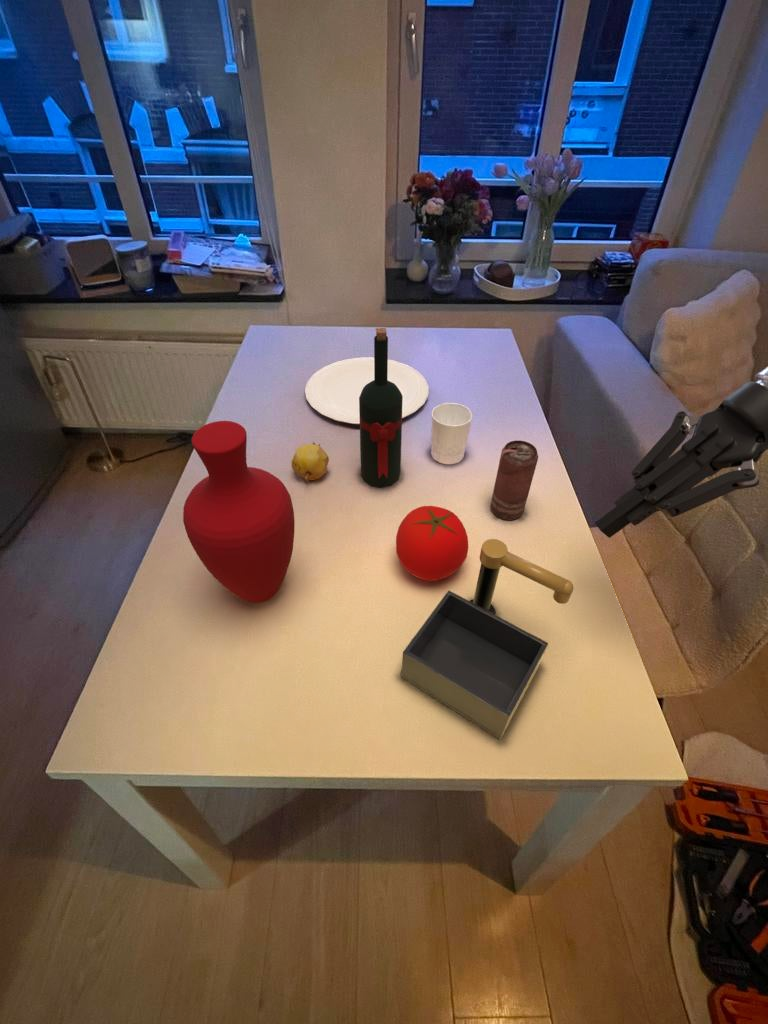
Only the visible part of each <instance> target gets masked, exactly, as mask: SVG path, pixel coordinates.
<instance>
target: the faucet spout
mask: <svg viewBox="0 0 768 1024" xmlns="http://www.w3.org/2000/svg"><path fill="white" fill-rule="evenodd" d="M508 550H509V549H508V546H507V544H505V542H504V541H502V540H500V539H496V538H489V539H486V540H485V541H483V543H482V544H481V549H480V553H479V562H480V564H481V563H482V564H483V565H484V566H485V567H487V568H491V569H497V568H500V569H501V567H504V568H506V569H508V570H510V571H512V572H515V573H516V574H519V575H521V576H522V577H525V578H527V579H529V580H531V581H532V582H535V583H537V584H539V585H541V586H543V587H545V588H548V590H549V589H550V590H552V591H554V592H553V595H552V598H553V600H554V601H556V603H558V604H567V603H568V602H569V600H570V598H571V596H572V594H573V591H574V585H573V583H572V581H571V580H569V579H567V578H565V577H563V576H560V575H559V574H556V573H554V572H552V571H550V570H548V569H546V568H544V567H542V566H539V565H537V564H535V563H533V562H531V561H530V560H529V561H528V560H527V559H525V558H522V557H521V556H518V555H516V554H514V553H511V552H510V551H508Z"/></svg>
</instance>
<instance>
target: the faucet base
mask: <svg viewBox="0 0 768 1024" xmlns="http://www.w3.org/2000/svg"><path fill="white" fill-rule="evenodd" d="M479 567H480V568H479V571H478V577H477V581H476V587H475V590H474V596H473V598H472V599H470V600H469V601H470V602H472V603H474V604H476V605H477V606H479V607H481V608H483V609H485V610H487V611H489V612H491V613H493V614H494V615H496V616H497V613H496V612H497V611H496V609H495V607H494V605H493V604H492V601H493V597H494V593H495V589H496V585H497V582H498V578H499V573H500V570H501V567H500V568H497V569H491V568H487V567H485V566H484V565H483V564H482V563H481V562H480V566H479Z"/></svg>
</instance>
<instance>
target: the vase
mask: <svg viewBox="0 0 768 1024" xmlns="http://www.w3.org/2000/svg"><path fill="white" fill-rule="evenodd" d="M247 441H248V435H247V430H246V428H245V427H244V426H243V425H242V424H240V423H238V422H236V421H231V420H217V421H213V422H209V423H206V424H204V425H202V426H200V427H199V428H198V429H197V430H196V431H195V432H194V433H193V435H192V437H191V444H192V447H193V449H194V450H195V452H196V454H197V455H198V457H199V458H200V460H201V463H203V465H204V467H205V469H206V471H207V474H208V475H207V476H206V477H204V478H202V479H201V480H200V481H199V482H198V483H197V484H195V486H194V487H193V488H192V489H191V491H190V492H189V494H188V495H187V497H186V499H185V502H184V505H183V510H182V511H183V513H182V522H183V525H184V529H185V532H186V535H187V539H188V540H189V542H190V545H191V546H192V549H193V551H194V552H195V553H196V555H197V557H198V558H199V560H200V561H201V563H202V564H203V565H204V567H205V568H206V570H207V571H208V572H209V574H211V576H212V577H213V578H214V579H215V580H216V581H217V582H218V583H220V584H221V585H222V586H223V587H224V588H225V589H226V590H227V591H229V592H230V593H231V594H233V595H235V596H236V597H238V598H239V599H240V600H242V601H244V602H246V603H250V604H260V603H264V602H267V601H269V600H270V599H272V598H273V597H274V596H275V595H277V593H278V592H279V590H280V588H281V586H282V584H283V582H284V580H285V577H286V575H287V572H288V569H289V566H290V563H291V560H292V556H293V550H294V542H295V521H296V520H295V511H294V505H293V501H292V497H291V494H290V492H289V491H288V489H287V487H286V486H285V484H284V482H283V481H282V480H281V479H280V478H278V477H277V476H276V475H274V474H273V473H271V472H269V471H267V470H265V469H262V468H258V467H250V466H248V461H247V444H248V443H247Z"/></svg>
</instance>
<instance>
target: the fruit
mask: <svg viewBox="0 0 768 1024" xmlns="http://www.w3.org/2000/svg"><path fill="white" fill-rule="evenodd" d="M329 461H330V458H329V455H328V453H327V452H326V450H325V449H323V447H321V443H318V444H317V443H316V442H315V441H312V443H308V444H303V445H301V446H299V447H298V448H297V449H296V450H295V452H294V455H293V458H292V460H291V469H292V470H293V472H294V474H296V475H298V476H299V477H301V478H304V480H305V482H306V483H308V484H309V483H310V480H312V481H316V480H318V479H320V478H321V477H323V476H324V475H325V474H326V472H327V469H328V464H329Z"/></svg>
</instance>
